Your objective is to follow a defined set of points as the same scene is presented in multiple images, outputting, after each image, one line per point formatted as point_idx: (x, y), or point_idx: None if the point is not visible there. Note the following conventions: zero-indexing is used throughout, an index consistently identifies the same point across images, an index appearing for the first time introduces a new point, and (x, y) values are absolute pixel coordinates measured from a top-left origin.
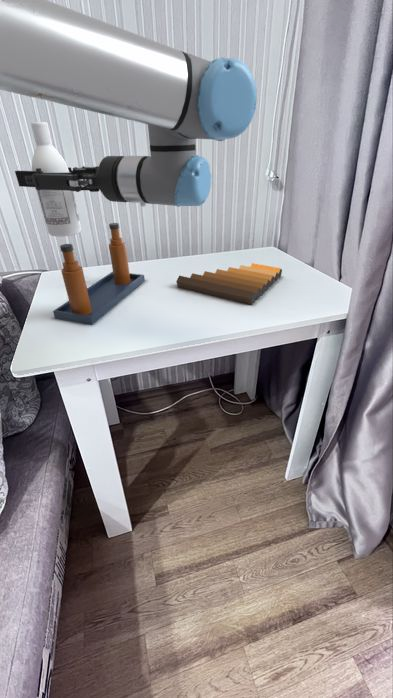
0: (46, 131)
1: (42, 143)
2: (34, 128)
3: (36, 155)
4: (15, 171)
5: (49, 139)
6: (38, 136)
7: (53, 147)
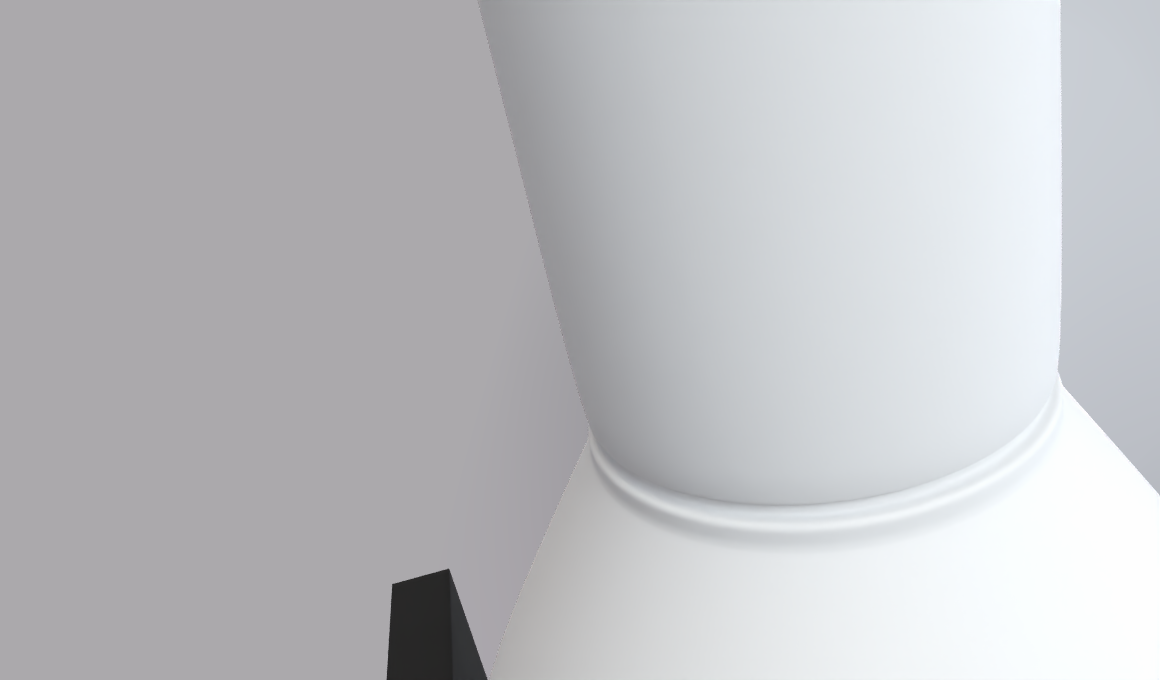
0: (840, 115)
1: (650, 472)
2: (492, 33)
3: (509, 658)
4: (394, 596)
5: (933, 356)
6: (567, 271)
7: (1038, 567)
